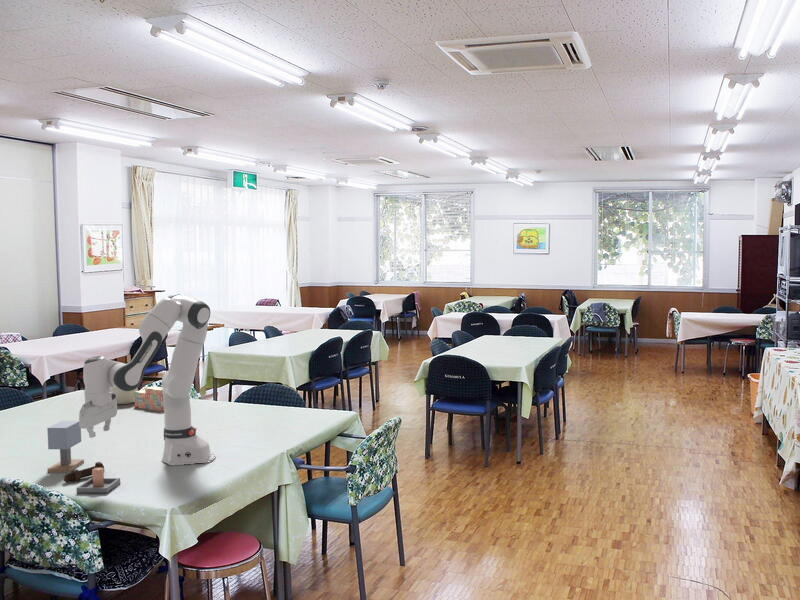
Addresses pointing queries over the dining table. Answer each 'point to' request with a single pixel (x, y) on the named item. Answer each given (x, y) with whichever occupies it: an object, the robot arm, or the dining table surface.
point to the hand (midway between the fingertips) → (99, 433)
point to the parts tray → (89, 489)
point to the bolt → (81, 473)
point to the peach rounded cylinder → (98, 477)
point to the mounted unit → (64, 444)
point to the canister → (123, 395)
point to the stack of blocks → (150, 398)
